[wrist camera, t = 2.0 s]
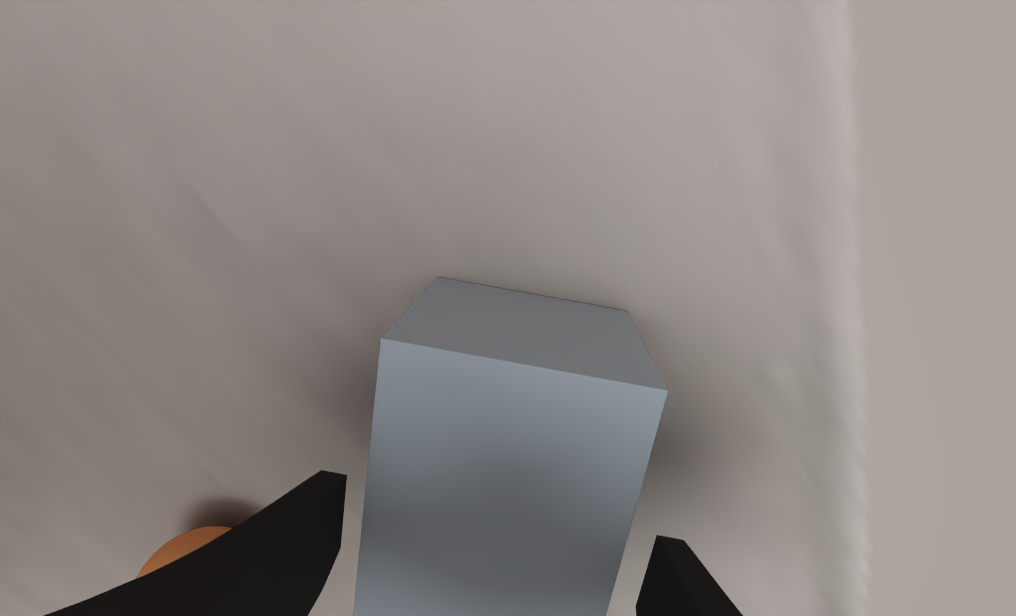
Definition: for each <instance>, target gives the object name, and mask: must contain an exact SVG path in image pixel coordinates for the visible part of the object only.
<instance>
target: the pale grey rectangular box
mask: <svg viewBox="0 0 1016 616" xmlns="http://www.w3.org/2000/svg"><path fill="white" fill-rule="evenodd" d="M667 393H668V389H667V388H666V386H665V384H664V382H663V380H662V378H661V376H660V374H659V372H658V370H657V368H656V366H655V364H654V362H653V360H652V358H651V356H650V354H649V352H648V350H647V349H646V347H645V345H644V343H643V341H642V339H641V337H640V335H639V333H638V331H637V329H636V327H635V325H634V323H633V321H632V319H631V317H630V315H629V313H628V311H624V310H618V309H613V308H607V307H602V306H596V305H590V304H585V303H579V302H574V301H568V300H563V299H557V298H551V297H546V296H540V295H535V294H529V293H523V292H518V291H512V290H507V289H501V288H495V287H490V286H484V285H479V284H473V283H467V282H462V281H456V280H451V279H445V278H439V277H438V278H437V279H436V280H435V281H434V282H433V283H432V284H431V285H430V286H429V287H428V288H427V289H426V290H425V291H424V293H423V294H422V295H421V296H420V297H419V298H418V299H417V300H416V301H415V302H414V303H413V304H412V305H411V306H410V308H409V309H408V310H407V311H406V312H405V313H404V314H403V315H402V316H401V317H400V318H399V319H398V320H397V321H396V323H395V324H394V325H393V326H392V327H391V328H390V329H389V330H388V331H387V332H386V333H385V334H384V335H383V336H382V338H381V341H380V351H379V361H378V371H377V381H376V391H375V401H374V411H373V421H372V431H371V441H370V451H369V461H368V471H367V481H366V491H365V501H364V511H363V521H362V531H361V541H360V551H359V561H358V571H357V581H356V591H355V601H354V611H353V616H606V613H607V610H608V606H609V602H610V599H611V595H612V592H613V588H614V584H615V581H616V577H617V574H618V570H619V566H620V563H621V559H622V555H623V552H624V548H625V545H626V541H627V537H628V534H629V530H630V527H631V523H632V519H633V516H634V512H635V509H636V505H637V501H638V498H639V494H640V490H641V487H642V483H643V480H644V476H645V472H646V469H647V465H648V462H649V458H650V454H651V451H652V447H653V444H654V440H655V436H656V433H657V429H658V425H659V422H660V418H661V415H662V411H663V407H664V404H665V400H666V397H667Z"/></svg>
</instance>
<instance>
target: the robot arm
mask: <svg viewBox="0 0 1016 616" xmlns="http://www.w3.org/2000/svg"><path fill="white" fill-rule="evenodd" d="M346 479H347V475H344V474H339V473H333V472H328V471H323V470H321V471H319V472H318V473H316V474H315V475H313V476H312V477H310V478H309V479H307V480H306V481H304V482H303V483H301V484H300V485H298V486H297V487H295V488H294V489H292V490H291V491H289V492H288V493H286V494H285V495H284V496H282V497H281V498H279V499H278V500H276V501H275V502H273V503H272V504H270V505H269V506H267V507H265V508H264V509H262V510H261V511H259V512H258V513H256V514H255V515H253V516H252V517H250V518H249V519H247V520H245V521H244V522H242V523H241V524H239V525H237V526H236V527H234V528H232V529H231V530H229V531H227V532H225V533H224V534H222V535H220V536H219V537H217V538H215V539H214V540H212V541H210V542H209V543H207V544H205V545H203V546H201V547H200V548H198V549H196V550H194V551H192V552H190V553H188V554H187V555H185V556H183V557H181V558H179V559H177V560H175V561H173V562H171V563H169V564H167V565H165V566H163V567H161V568H158V569H156V570H154V571H152V572H150V573H148V574H146V575H144V576H142V577H139V578H137V579H134V580H132V581H130V582H127V583H125V584H123V585H120V586H118V587H116V588H113V589H111V590H109V591H106V592H104V593H101V594H99V595H97V596H94V597H92V598H90V599H87V600H85V601H82V602H79V603H77V604H74V605H71V606H69V607H66V608H63V609H61V610H58V611H55V612H53V613H50V614H47V615H44V616H308V614H309V612H310V611H311V609H312V607H313V606H314V604H315V602H316V600H317V598H318V597H319V595H320V593H321V591H322V589H323V587H324V585H325V583H326V580H327V578H328V576H329V574H330V571H331V569H332V567H333V564H334V562H335V560H336V557H337V555H338V553H339V550H340V548H341V537H342V525H343V514H344V502H345V491H346ZM636 615H637V616H743V615H742V614H741V613H740V611H739V610H738V609H737V608H736V606H735V605H734V604H733V603H732V601H731V600H730V599H729V598H728V596H727V595H726V594H725V593H724V591H723V590H722V589H721V588H720V586H719V585H718V584H717V582H716V581H715V580H714V578H713V577H712V576H711V575H710V573H709V572H708V571H707V569H706V568H705V567H704V565H703V564H702V563H701V561H700V560H699V559H698V558H697V556H696V555H695V554H694V552H693V551H692V550H691V549H690V547H689V546H688V545H687V544H686V542H685V541H684V540H680V539H675V538H670V537H664V536H659V535H657V536H656V540H655V543H654V546H653V550H652V553H651V557H650V560H649V563H648V567H647V570H646V573H645V577H644V580H643V584H642V587H641V590H640V594H639V597H638V600H637V604H636Z"/></svg>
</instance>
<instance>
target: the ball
mask: <svg viewBox="0 0 1016 616" xmlns="http://www.w3.org/2000/svg"><path fill="white" fill-rule="evenodd" d="M231 529H232V528H229V527H222V526H209V527H201V528H197V529H194V530H190V531H188V532H185V533H183V534H181V535H179V536H177V537H175V538H173V539H172V540H170V541H169V542H167V543H166V544H165V545H163V546H162V547H161V548H160V549H159V550H157V551H156V552H155V553H154V554H153V555H152V557H151V558H150V559H149V560H148V561H147V562H146V563H145V565H144V566H143V568H142V569H141V571H140V573H139V574H138V576H137V578H139V577H142V576H144V575H146V574H148V573H150V572H152V571H154V570H156V569H158V568H161V567H163V566H165V565H167V564H169V563H171V562H173V561H175V560H177V559H179V558H181V557H183V556H185V555H187V554H188V553H190V552H192V551H194V550H196V549H198V548H200V547H201V546H203V545H205V544H207V543H209V542H210V541H212V540H214V539H215V538H217V537H219V536H220V535H222V534H224V533H225V532H227V531H229V530H231ZM137 578H136V579H137Z"/></svg>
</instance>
